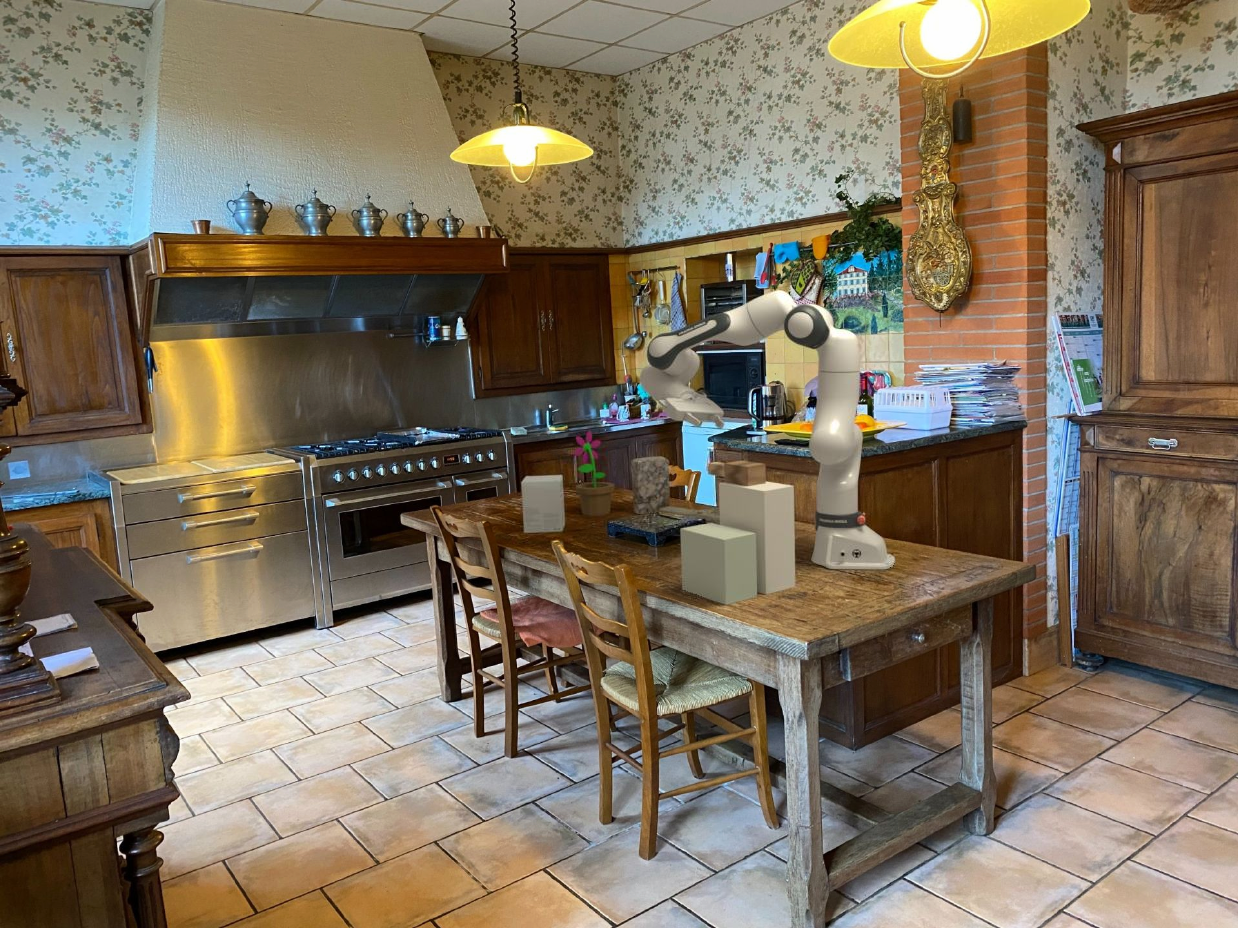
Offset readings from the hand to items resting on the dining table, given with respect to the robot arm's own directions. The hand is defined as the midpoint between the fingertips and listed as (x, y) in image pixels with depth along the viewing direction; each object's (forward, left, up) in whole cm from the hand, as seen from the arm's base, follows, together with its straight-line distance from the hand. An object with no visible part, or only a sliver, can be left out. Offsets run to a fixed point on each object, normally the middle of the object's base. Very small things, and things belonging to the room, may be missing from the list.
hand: (711, 425), depth 254 cm
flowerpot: (+62, -58, -39) cm, 93 cm away
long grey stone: (+22, -53, -40) cm, 70 cm away
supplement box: (+69, -30, -39) cm, 85 cm away
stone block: (+42, -63, -39) cm, 85 cm away
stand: (-13, +25, -39) cm, 48 cm away
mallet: (-10, +15, -13) cm, 22 cm away
